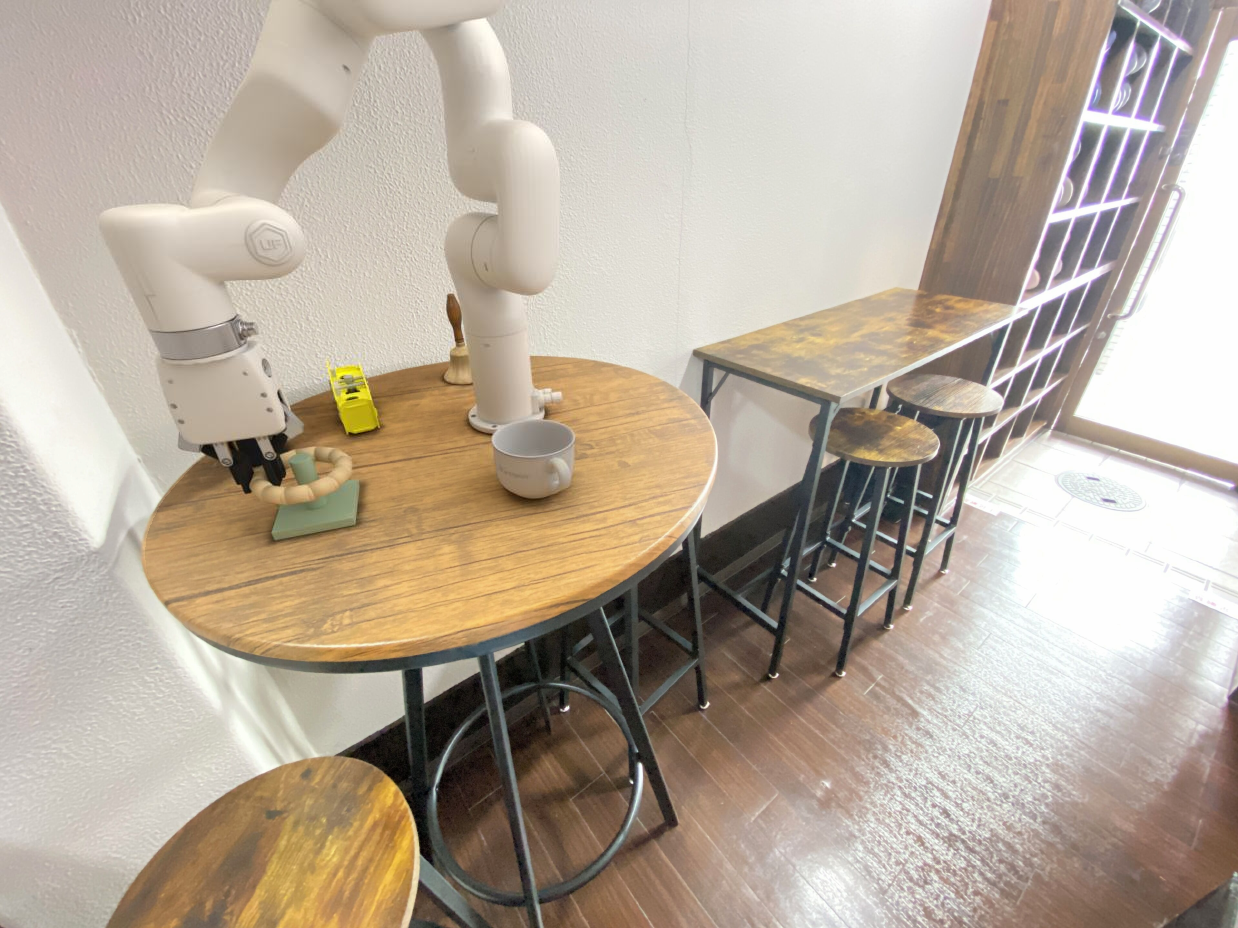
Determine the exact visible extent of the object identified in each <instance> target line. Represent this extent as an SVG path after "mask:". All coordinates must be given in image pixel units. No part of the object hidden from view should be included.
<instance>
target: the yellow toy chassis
mask: <svg viewBox="0 0 1238 928" xmlns="http://www.w3.org/2000/svg"><path fill="white" fill-rule="evenodd" d="M325 363H326V367H327V372H328V376H329V379H327V380H328V385H329V389H330V393H331V395H332V398H333V402H334V403H336V405H337V406H336V410H337V413H338V417H339V420H340V421H341V423H342V424H343V427H344V430H345V433H346V435H347V436H349V433H351V434H360V433H364V432H368V431H369V432H370V431H373V430H374V429H375V428H378V429H380V428H381V426H380V423H379V422H380V421H379V419H378V416H379V413H378V410H377V408H376V407H375V403H374V401H373V398H372V394H371V389H370V386H369V381H368V380H367V375H365V374H364V372H363V369H362V366H361V363H360V361H357V365H358V366H357V365H354V364H350V365H344V366H339V367H335V365H334V363H330V362H329V361H328V359H325Z"/></svg>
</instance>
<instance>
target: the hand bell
mask: <svg viewBox="0 0 1238 928" xmlns="http://www.w3.org/2000/svg"><path fill="white" fill-rule="evenodd" d="M445 311H446V316H447V320H448V321H449V323H450V326H451V328H452V331H453V338H454V342H455V346H454V347H453V348H451V349H450V350H449V366H448V369H447V371H445V373H444V376H443V379H444V381H445V382H447V383H448V384H450V385H451V384H452V385H458V386H459V385H460V386H461V385H464V386H465V385H471V384H473V382H472V376H471V369H470V363H469V357H468V351H467V345H466V341H465V339H464V338H465V337H464V334H463V330H462V324H463V320H462V314H461V309H460V304H459V300H458V298H456V296H455V293H447V294H446V303H445Z"/></svg>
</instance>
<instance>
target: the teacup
mask: <svg viewBox="0 0 1238 928" xmlns="http://www.w3.org/2000/svg"><path fill="white" fill-rule="evenodd" d="M490 442H491V446H492V452H493V453H492V455H493V461H494V468H495V472H496V473H495V474H496V477H497V480H498V481H499V482H500V484H501V485H502V487H504V488H505V489H506V490H508V491H509V492H511V493H513V494H515V495H517V496H519V497H521V498H525V499H535V500H536V499H544V498H546V497H551V496H552V495H555V494H558V493H559V492H562V491H564V490H566V489H567V488H569V487H570V485H571V482H572V481H571V480H572V479H571V478H572V476H573V473H574V467H575V442H576V434H575V432H574V430H573V429H572V428H571V427H569V426H568V425H566V424H564V423H562V422H559V421H555V420H551V419H545V418H543V419H531V420H520V421H516V422H513V423H509V424H506V425H504V426H502V427H500V428H499V429H498V430H496V431H495V433H494V434H491V438H490Z"/></svg>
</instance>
